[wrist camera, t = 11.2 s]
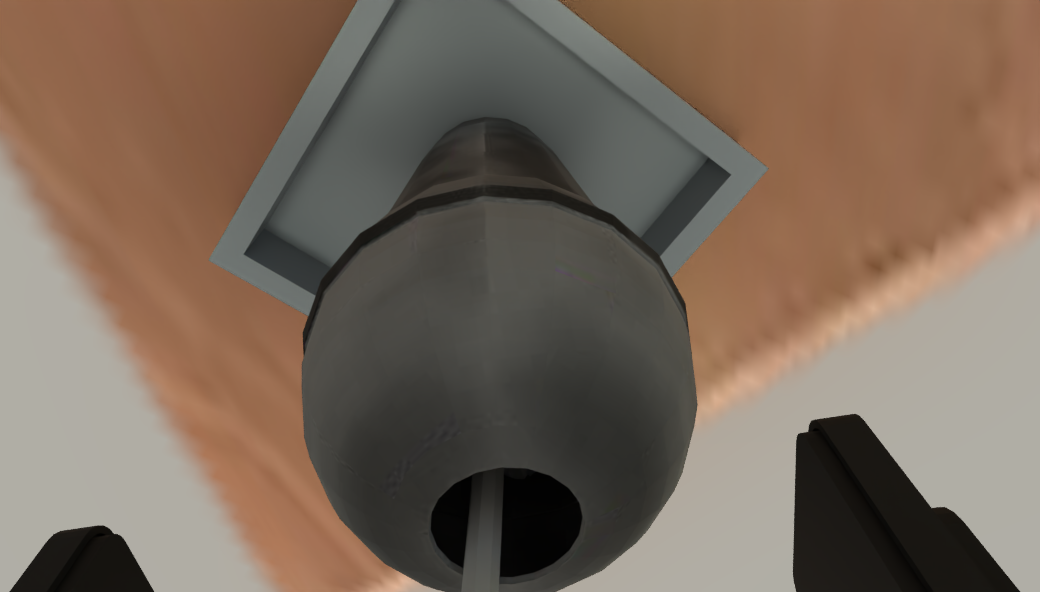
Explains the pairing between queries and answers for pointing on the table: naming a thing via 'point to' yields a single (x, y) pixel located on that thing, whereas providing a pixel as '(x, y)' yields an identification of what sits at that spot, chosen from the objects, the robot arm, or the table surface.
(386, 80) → the tray
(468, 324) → the beverage cup
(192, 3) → the table surface
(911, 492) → the robot arm
